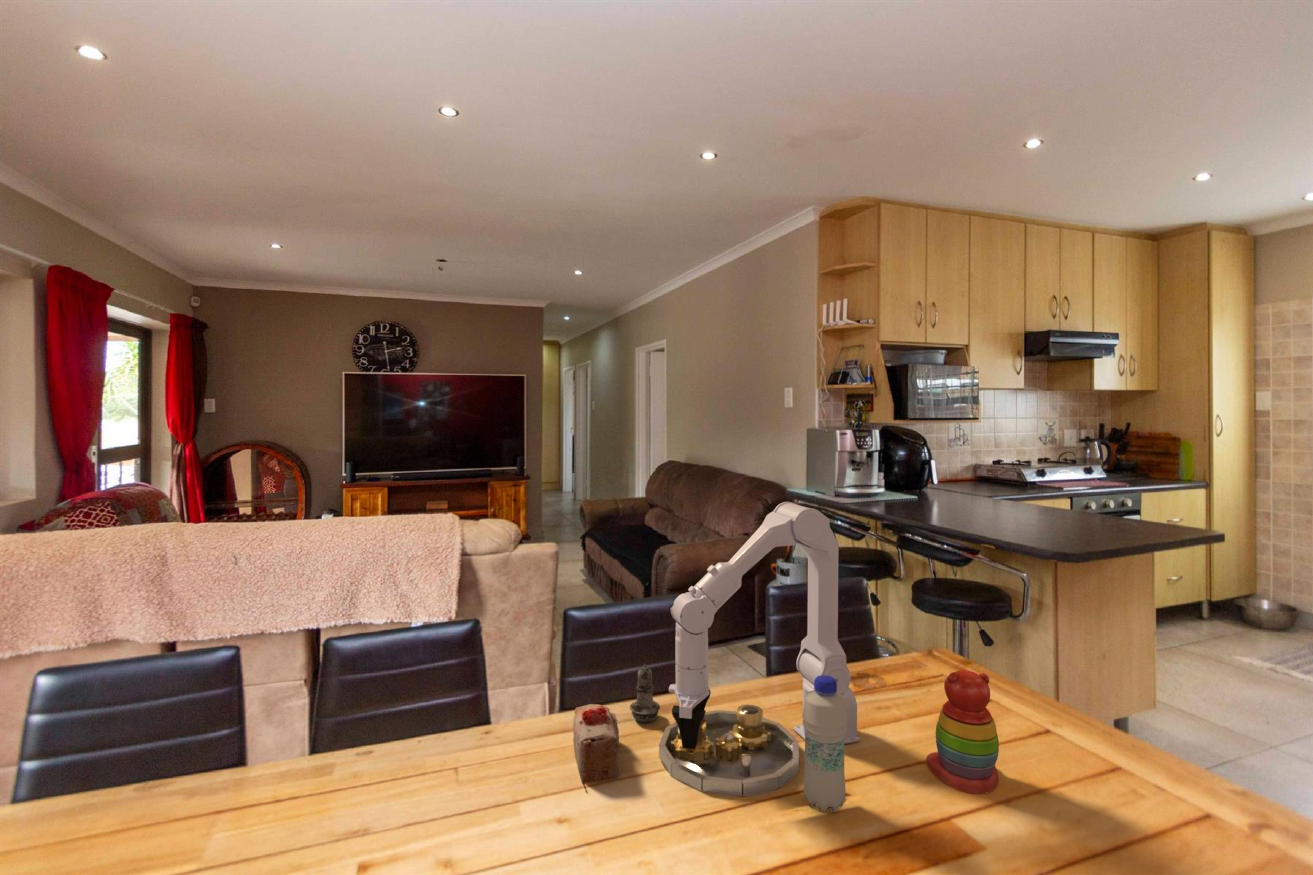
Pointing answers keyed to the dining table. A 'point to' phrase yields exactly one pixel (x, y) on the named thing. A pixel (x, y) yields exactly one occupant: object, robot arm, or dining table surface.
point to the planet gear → (702, 747)
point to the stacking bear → (966, 736)
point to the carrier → (736, 754)
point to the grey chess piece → (644, 698)
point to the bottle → (824, 745)
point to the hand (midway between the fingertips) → (691, 739)
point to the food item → (596, 743)
